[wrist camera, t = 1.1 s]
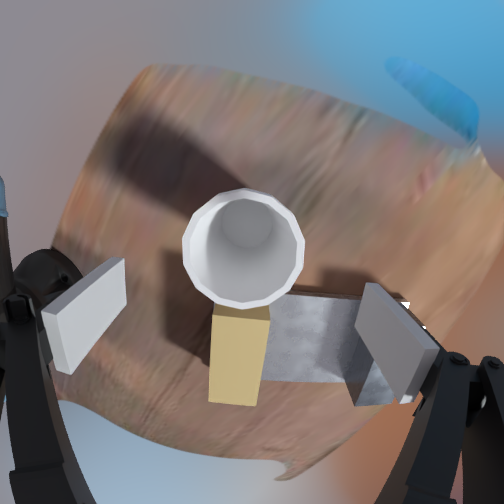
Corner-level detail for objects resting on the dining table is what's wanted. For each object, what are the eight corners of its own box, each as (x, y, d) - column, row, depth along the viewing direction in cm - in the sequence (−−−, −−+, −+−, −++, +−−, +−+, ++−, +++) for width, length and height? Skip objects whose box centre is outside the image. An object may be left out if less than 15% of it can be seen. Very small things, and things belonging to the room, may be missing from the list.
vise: (211, 368, 41) (204, 402, 33) (216, 282, 37) (208, 309, 30) (377, 375, 41) (392, 405, 34) (404, 298, 37) (429, 323, 30)
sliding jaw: (213, 372, 39) (208, 401, 33) (218, 291, 35) (212, 314, 30) (255, 377, 39) (255, 406, 33) (268, 296, 36) (270, 320, 30)
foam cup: (217, 266, 36) (198, 316, 24) (199, 192, 34) (168, 206, 21) (293, 251, 36) (312, 296, 23) (279, 176, 33) (294, 180, 21)
